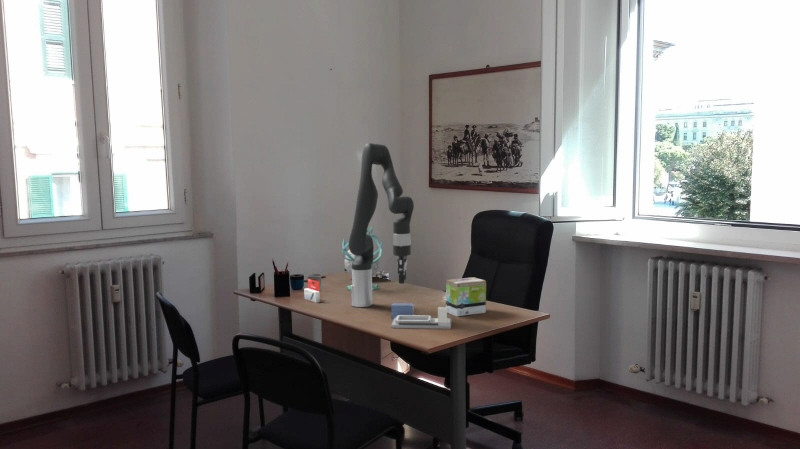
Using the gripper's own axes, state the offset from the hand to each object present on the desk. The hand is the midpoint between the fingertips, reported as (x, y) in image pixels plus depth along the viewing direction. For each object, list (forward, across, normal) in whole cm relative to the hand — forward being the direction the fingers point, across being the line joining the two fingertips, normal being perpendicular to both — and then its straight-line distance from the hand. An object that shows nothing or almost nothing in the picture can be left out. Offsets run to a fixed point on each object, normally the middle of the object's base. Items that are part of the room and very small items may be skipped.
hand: (402, 281), depth 280 cm
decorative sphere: (+16, -86, -31) cm, 92 cm away
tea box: (+16, -10, +27) cm, 33 cm away
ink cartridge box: (+16, -32, -47) cm, 59 cm away
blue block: (+16, 0, 0) cm, 16 cm away
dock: (+16, +11, +9) cm, 21 cm away
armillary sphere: (+16, -62, -27) cm, 69 cm away
